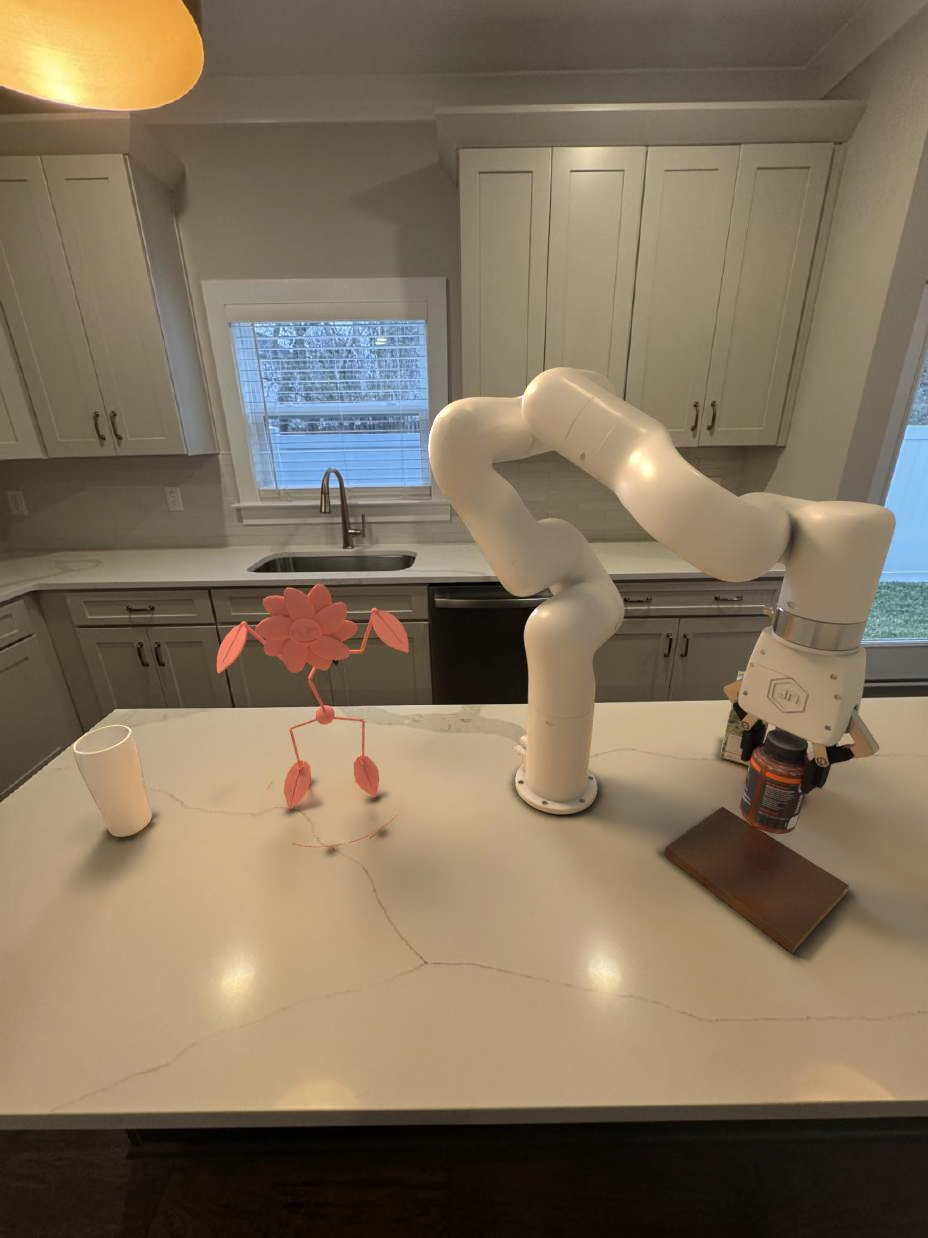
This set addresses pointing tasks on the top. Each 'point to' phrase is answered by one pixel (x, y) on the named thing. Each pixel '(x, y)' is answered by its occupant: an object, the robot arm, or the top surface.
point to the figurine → (313, 662)
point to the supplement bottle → (775, 783)
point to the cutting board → (758, 876)
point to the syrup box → (735, 735)
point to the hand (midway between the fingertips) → (778, 770)
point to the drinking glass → (114, 778)
